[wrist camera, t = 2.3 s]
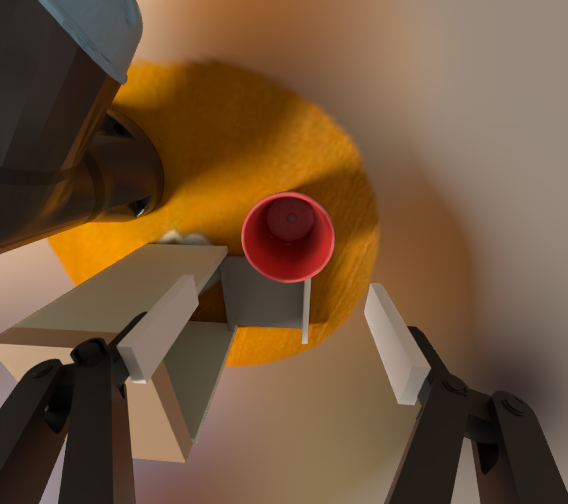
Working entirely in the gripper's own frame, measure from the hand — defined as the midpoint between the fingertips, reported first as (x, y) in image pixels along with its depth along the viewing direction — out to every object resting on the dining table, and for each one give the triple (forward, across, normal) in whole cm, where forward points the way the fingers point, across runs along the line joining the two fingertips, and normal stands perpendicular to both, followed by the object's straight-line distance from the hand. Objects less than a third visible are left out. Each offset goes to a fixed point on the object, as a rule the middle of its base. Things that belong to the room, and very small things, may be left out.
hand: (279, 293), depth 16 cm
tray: (+19, -4, -14) cm, 23 cm away
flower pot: (+19, 0, 0) cm, 19 cm away
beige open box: (+19, -17, -14) cm, 29 cm away
